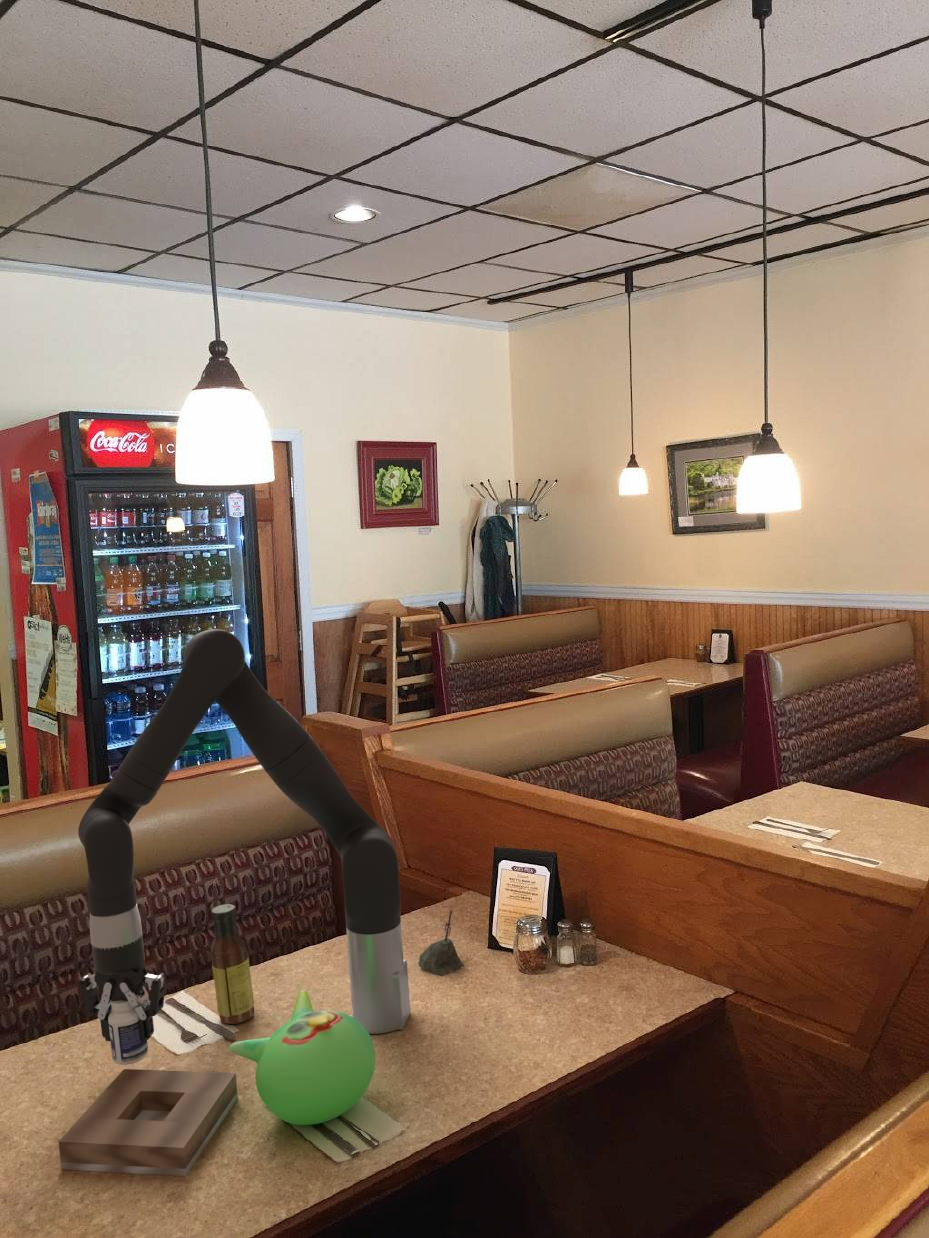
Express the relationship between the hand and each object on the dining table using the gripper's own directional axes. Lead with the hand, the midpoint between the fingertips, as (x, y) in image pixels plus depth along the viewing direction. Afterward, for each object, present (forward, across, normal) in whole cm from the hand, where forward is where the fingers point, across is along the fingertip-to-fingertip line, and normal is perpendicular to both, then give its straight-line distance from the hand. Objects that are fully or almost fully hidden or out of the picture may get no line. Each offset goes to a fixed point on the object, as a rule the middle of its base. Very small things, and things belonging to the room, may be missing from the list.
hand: (128, 1038), depth 160 cm
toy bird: (+7, -32, +7) cm, 34 cm away
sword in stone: (+7, -42, -41) cm, 59 cm away
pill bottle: (+3, 0, 0) cm, 3 cm away
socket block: (+6, -10, +14) cm, 19 cm away
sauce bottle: (+7, -10, -19) cm, 22 cm away
